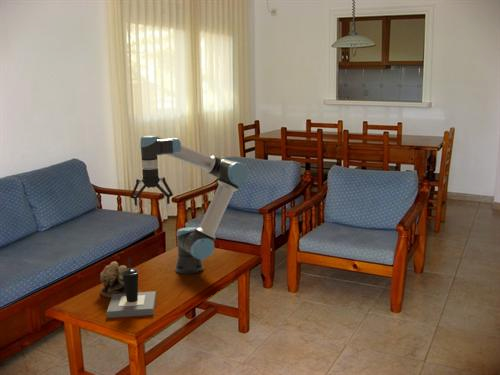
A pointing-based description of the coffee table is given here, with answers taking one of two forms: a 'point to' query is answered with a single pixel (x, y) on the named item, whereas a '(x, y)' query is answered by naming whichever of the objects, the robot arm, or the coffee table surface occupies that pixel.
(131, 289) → the drinking cup
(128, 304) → the base
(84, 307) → the coffee table surface
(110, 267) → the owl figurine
